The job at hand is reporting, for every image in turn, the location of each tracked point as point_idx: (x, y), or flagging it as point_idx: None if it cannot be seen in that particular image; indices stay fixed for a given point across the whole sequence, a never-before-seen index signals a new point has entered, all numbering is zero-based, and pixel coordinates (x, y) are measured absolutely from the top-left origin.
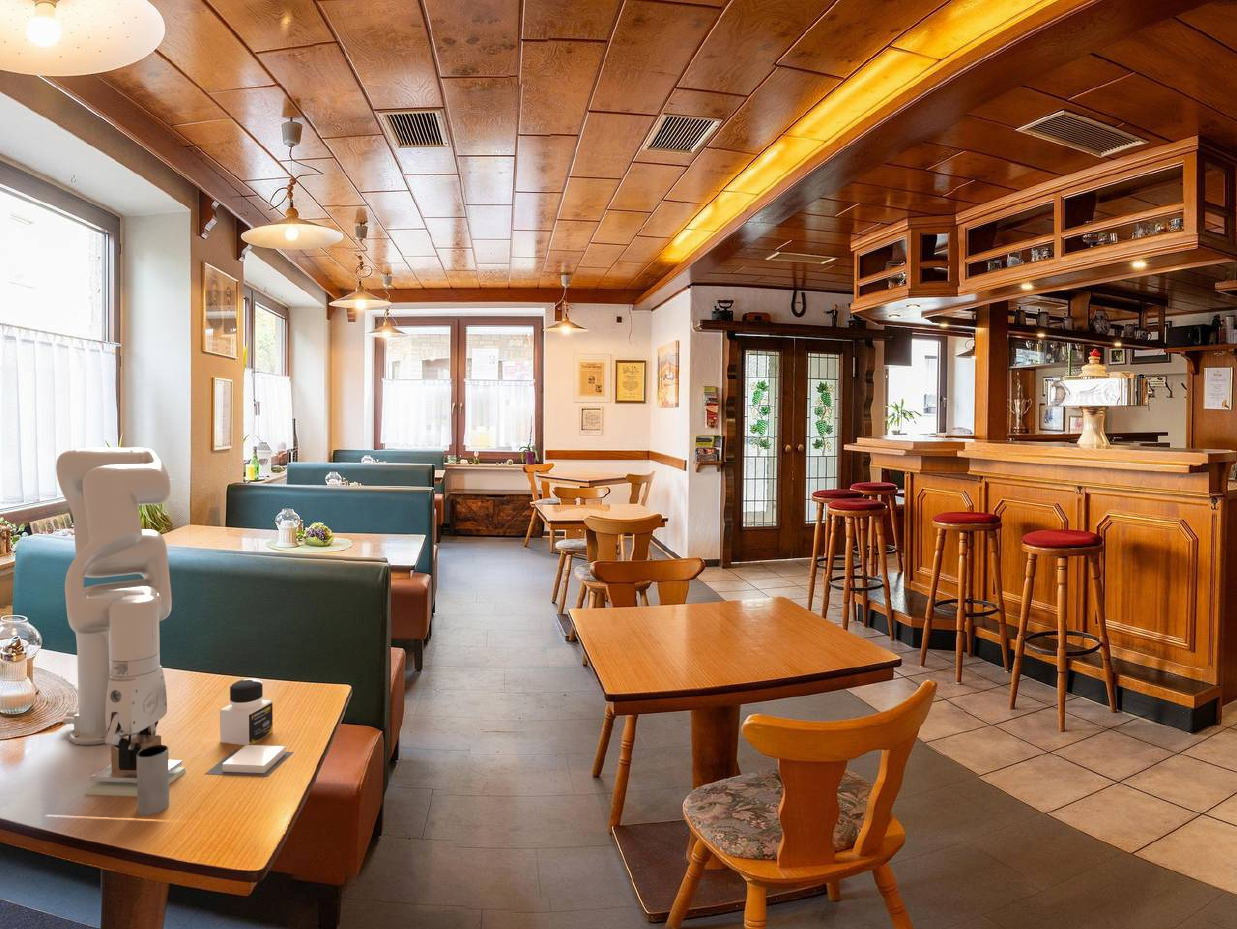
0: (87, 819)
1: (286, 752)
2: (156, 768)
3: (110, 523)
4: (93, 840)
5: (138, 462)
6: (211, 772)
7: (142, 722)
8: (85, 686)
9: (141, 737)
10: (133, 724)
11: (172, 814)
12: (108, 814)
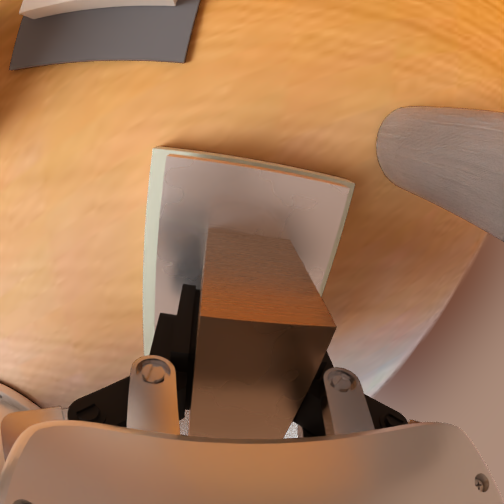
0: (410, 295)
1: None
2: None
3: None
4: (487, 232)
5: None
6: (173, 42)
7: (409, 481)
8: None
9: (230, 401)
10: (480, 472)
11: (437, 87)
12: (403, 260)
